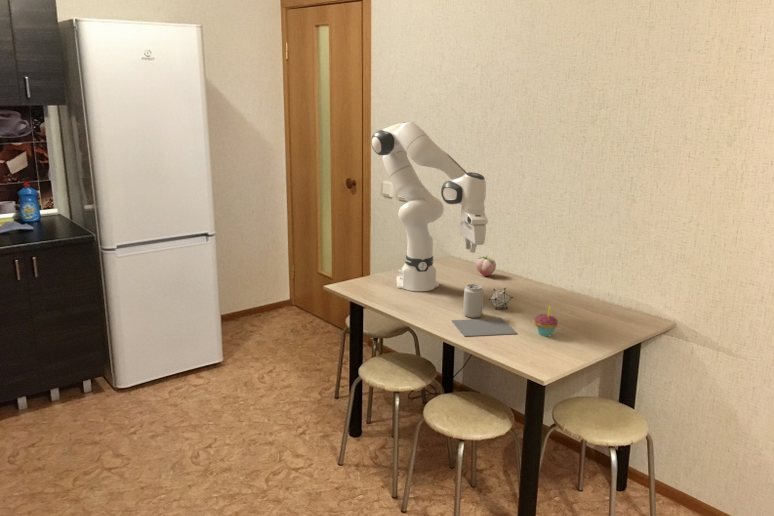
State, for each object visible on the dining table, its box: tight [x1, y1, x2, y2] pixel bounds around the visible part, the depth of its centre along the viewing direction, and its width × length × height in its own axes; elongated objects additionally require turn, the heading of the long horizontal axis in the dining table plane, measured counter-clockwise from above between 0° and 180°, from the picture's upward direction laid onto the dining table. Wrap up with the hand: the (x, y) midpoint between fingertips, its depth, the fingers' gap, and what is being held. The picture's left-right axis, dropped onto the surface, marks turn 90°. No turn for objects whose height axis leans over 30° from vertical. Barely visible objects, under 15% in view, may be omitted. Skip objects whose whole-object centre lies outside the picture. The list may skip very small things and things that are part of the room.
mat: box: [450, 317, 519, 338], centre depth 241 cm, size 16×20×1 cm
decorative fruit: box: [475, 255, 497, 277], centre depth 305 cm, size 9×8×10 cm
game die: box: [488, 287, 514, 310], centre depth 262 cm, size 9×8×10 cm
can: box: [462, 283, 485, 319], centre depth 252 cm, size 8×8×12 cm
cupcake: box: [533, 304, 559, 337], centre depth 235 cm, size 9×8×12 cm
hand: (470, 250), depth 254 cm, fingers open, 4 cm apart
